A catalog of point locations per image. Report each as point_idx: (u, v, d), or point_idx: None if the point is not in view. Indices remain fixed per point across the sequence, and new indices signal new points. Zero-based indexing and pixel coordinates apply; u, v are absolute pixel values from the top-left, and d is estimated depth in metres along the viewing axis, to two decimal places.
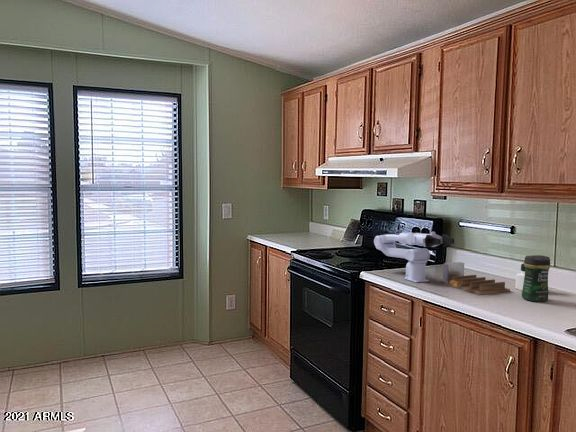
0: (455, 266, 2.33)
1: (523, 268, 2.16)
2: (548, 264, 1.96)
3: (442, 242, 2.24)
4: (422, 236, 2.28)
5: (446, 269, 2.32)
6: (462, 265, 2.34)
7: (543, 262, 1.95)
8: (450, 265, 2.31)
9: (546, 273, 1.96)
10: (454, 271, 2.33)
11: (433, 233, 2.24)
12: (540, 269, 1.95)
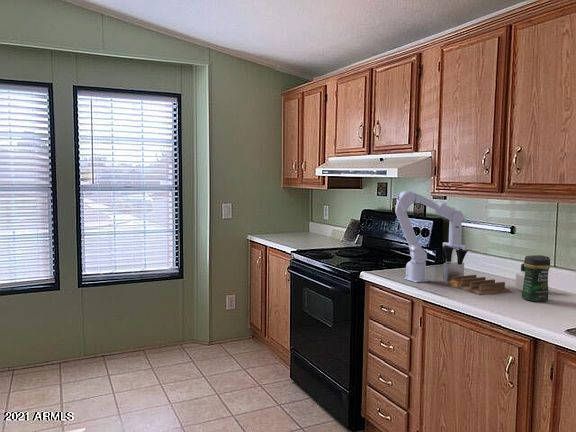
0: (455, 266, 2.33)
1: (523, 268, 2.16)
2: (548, 264, 1.96)
3: (447, 247, 2.37)
4: None
5: (446, 269, 2.32)
6: (461, 265, 2.34)
7: (543, 262, 1.95)
8: (450, 265, 2.31)
9: (546, 273, 1.96)
10: (454, 271, 2.33)
11: None
12: (540, 269, 1.95)
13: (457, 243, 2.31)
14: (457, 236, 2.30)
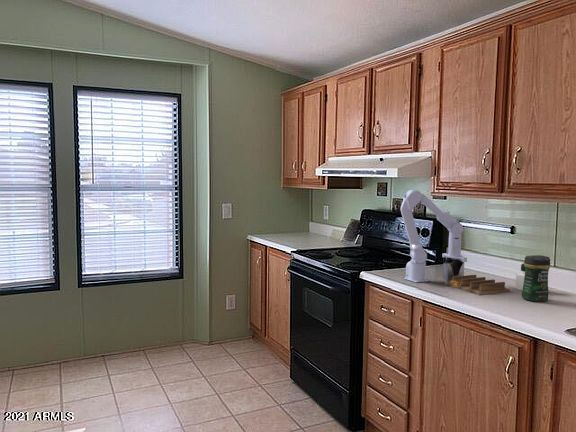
0: None
1: (523, 268, 2.16)
2: (548, 264, 1.96)
3: (450, 259, 2.35)
4: (460, 246, 2.32)
5: (446, 269, 2.32)
6: (462, 265, 2.34)
7: (543, 262, 1.95)
8: (450, 265, 2.31)
9: (546, 273, 1.96)
10: None
11: None
12: (540, 269, 1.95)
13: (457, 254, 2.31)
14: (457, 248, 2.31)
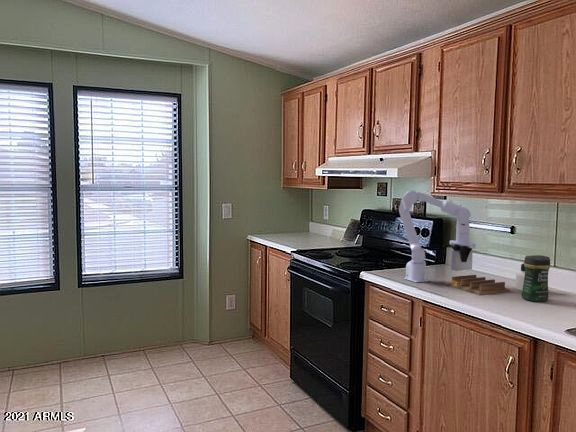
0: None
1: (523, 268, 2.16)
2: (548, 264, 1.96)
3: (457, 246, 2.30)
4: (468, 233, 2.27)
5: (455, 257, 2.27)
6: (470, 253, 2.30)
7: (543, 262, 1.95)
8: (458, 252, 2.27)
9: (546, 273, 1.96)
10: None
11: None
12: (540, 269, 1.95)
13: (465, 241, 2.26)
14: (465, 234, 2.26)
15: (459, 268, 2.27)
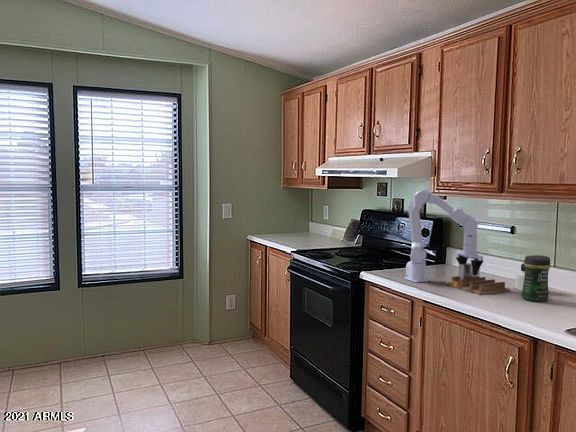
0: (471, 266, 2.24)
1: (523, 268, 2.16)
2: (548, 264, 1.96)
3: (462, 257, 2.28)
4: (476, 244, 2.23)
5: (462, 270, 2.23)
6: None
7: (543, 262, 1.95)
8: (466, 266, 2.22)
9: (546, 273, 1.96)
10: (470, 272, 2.24)
11: None
12: (540, 269, 1.95)
13: (472, 253, 2.22)
14: (472, 246, 2.21)
15: None
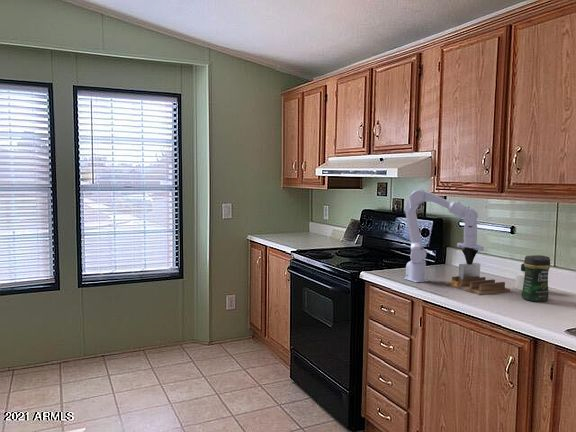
0: (471, 267, 2.24)
1: (523, 268, 2.16)
2: (548, 264, 1.96)
3: (467, 249, 2.24)
4: (476, 235, 2.22)
5: (462, 270, 2.23)
6: (478, 266, 2.25)
7: (543, 262, 1.95)
8: (466, 266, 2.22)
9: (546, 273, 1.96)
10: (470, 272, 2.24)
11: None
12: (540, 269, 1.95)
13: (473, 244, 2.21)
14: (473, 236, 2.21)
15: None
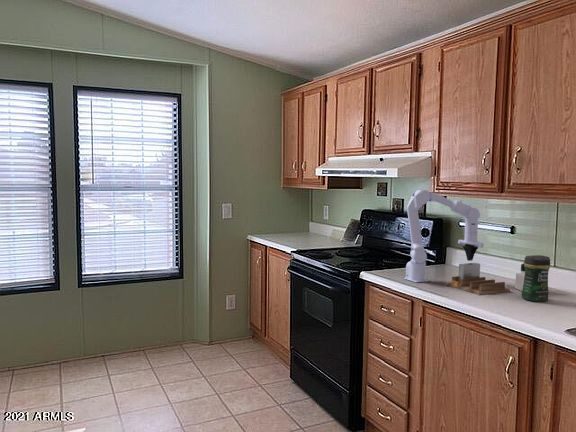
0: (471, 266, 2.24)
1: (523, 268, 2.16)
2: (548, 264, 1.96)
3: (468, 246, 2.33)
4: None
5: (462, 270, 2.23)
6: (477, 266, 2.25)
7: (543, 262, 1.95)
8: (466, 266, 2.22)
9: (546, 273, 1.96)
10: (470, 272, 2.24)
11: None
12: (540, 269, 1.95)
13: (473, 240, 2.30)
14: (473, 233, 2.30)
15: None
